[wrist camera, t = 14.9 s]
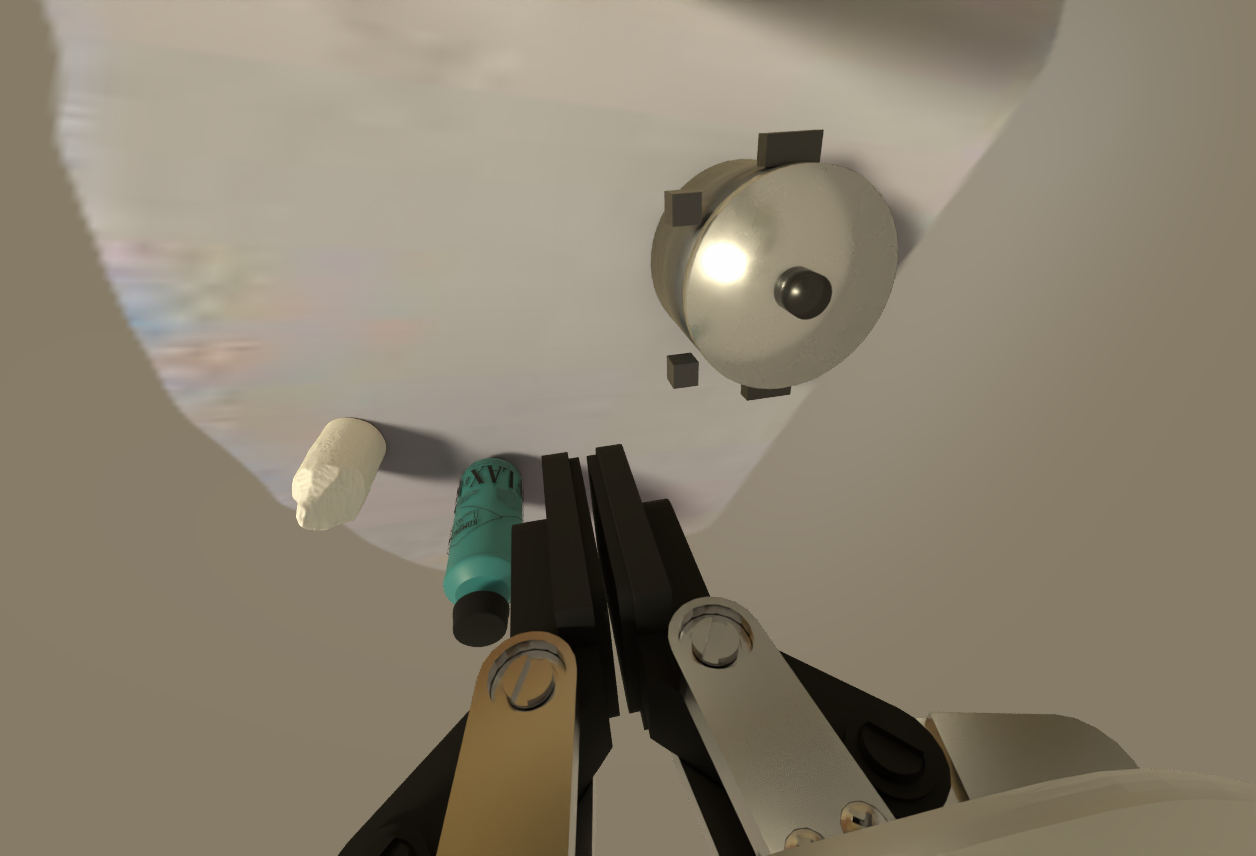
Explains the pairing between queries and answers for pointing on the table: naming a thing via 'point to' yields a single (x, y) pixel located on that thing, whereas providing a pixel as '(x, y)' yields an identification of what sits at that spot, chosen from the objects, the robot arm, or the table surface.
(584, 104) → the table surface
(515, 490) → the beverage bottle
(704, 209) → the cooker pot
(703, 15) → the table surface
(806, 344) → the cooker lid
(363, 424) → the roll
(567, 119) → the table surface
